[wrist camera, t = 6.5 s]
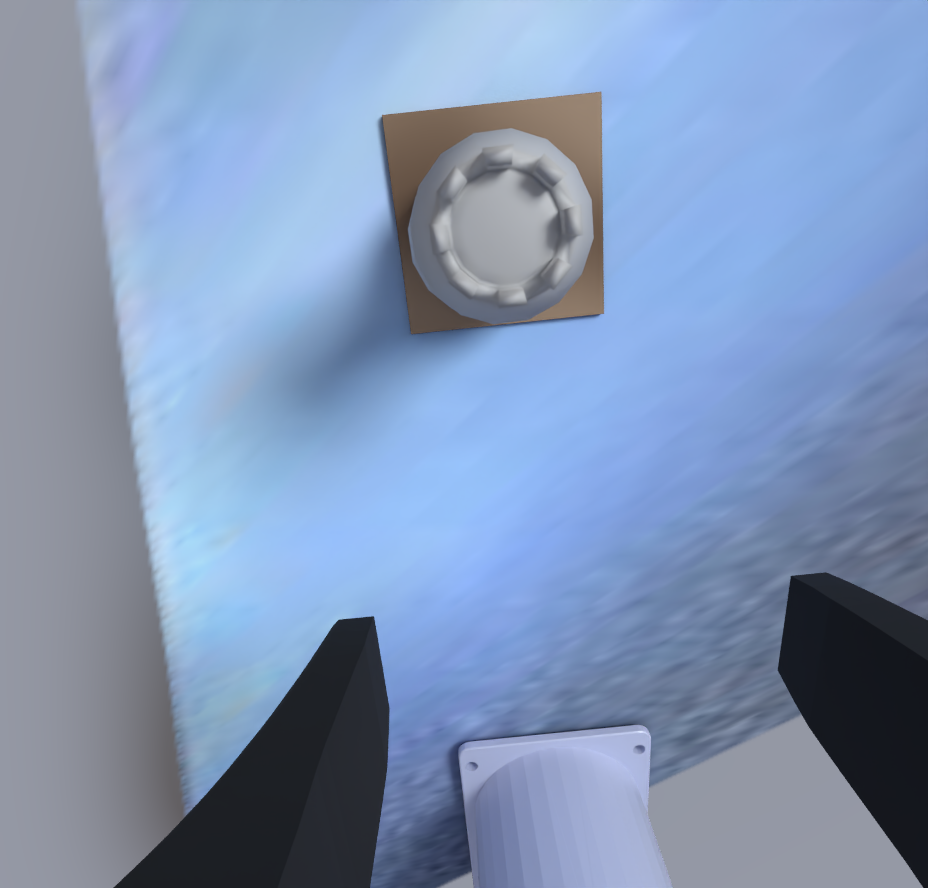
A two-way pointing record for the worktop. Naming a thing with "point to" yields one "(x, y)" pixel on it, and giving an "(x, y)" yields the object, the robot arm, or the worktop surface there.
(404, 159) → the walnut tile
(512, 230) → the rook chess piece
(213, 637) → the worktop surface
